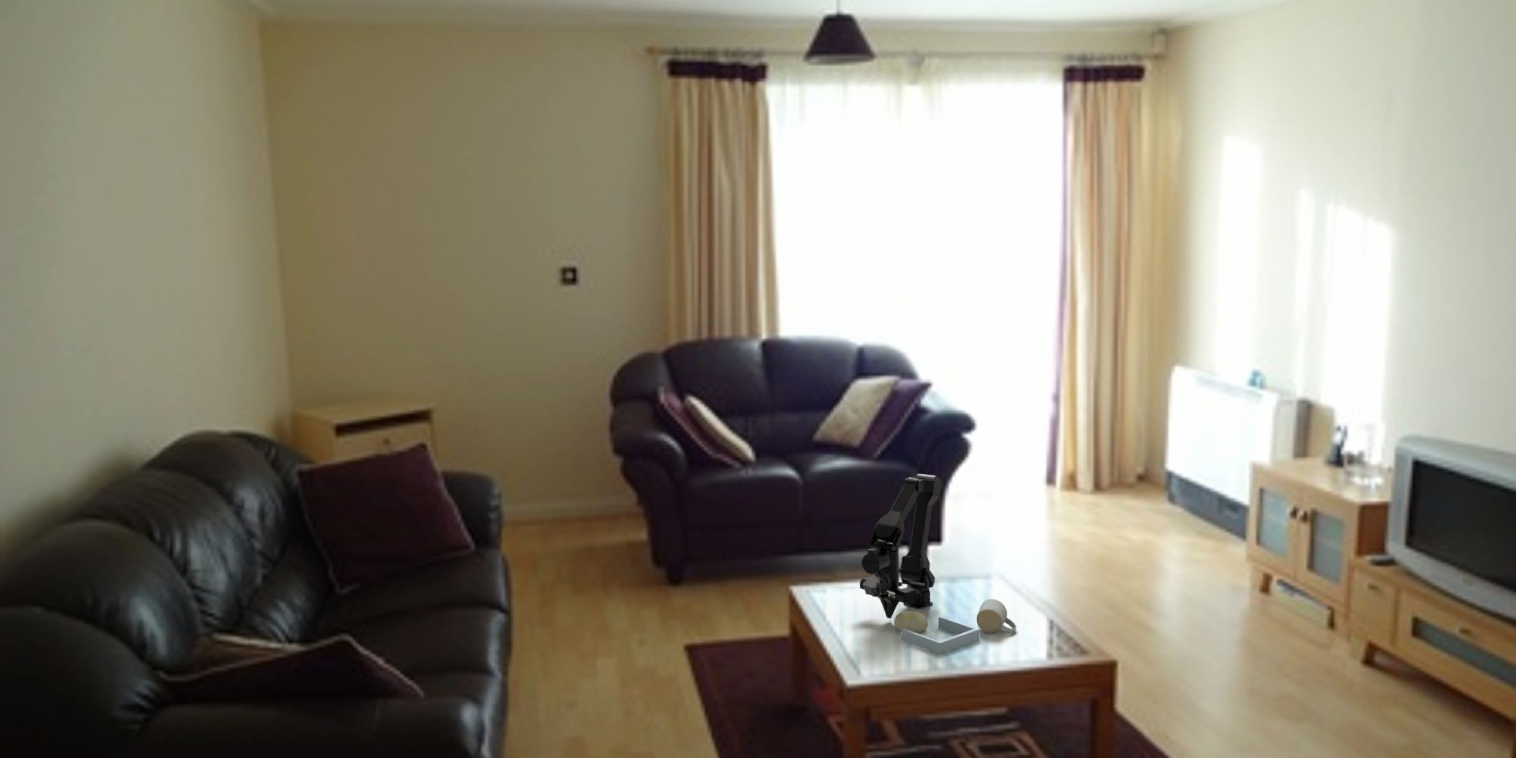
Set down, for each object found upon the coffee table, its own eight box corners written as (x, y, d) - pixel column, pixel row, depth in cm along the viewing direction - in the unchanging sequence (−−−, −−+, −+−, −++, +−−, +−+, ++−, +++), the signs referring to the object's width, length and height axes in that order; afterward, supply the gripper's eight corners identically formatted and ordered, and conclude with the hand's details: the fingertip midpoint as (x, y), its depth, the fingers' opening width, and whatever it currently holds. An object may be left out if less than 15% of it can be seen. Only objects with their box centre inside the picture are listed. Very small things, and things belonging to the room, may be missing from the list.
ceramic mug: (975, 632, 294) (975, 606, 293) (979, 623, 302) (980, 597, 301) (1014, 637, 291) (1014, 610, 290) (1017, 627, 298) (1018, 601, 297)
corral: (901, 639, 290) (901, 629, 290) (940, 626, 300) (940, 615, 300) (939, 654, 279) (939, 643, 279) (979, 639, 289) (979, 629, 289)
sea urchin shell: (922, 631, 291) (903, 608, 294) (904, 647, 295) (885, 624, 297) (935, 621, 299) (916, 598, 301) (917, 637, 303) (898, 614, 305)
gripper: (845, 563, 305) (846, 616, 307) (892, 578, 291) (892, 633, 293) (873, 556, 312) (873, 607, 314) (920, 570, 298) (920, 623, 299)
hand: (889, 617), depth 305 cm, fingers closed
